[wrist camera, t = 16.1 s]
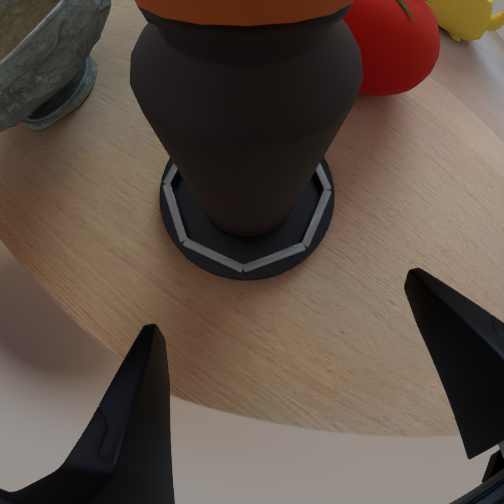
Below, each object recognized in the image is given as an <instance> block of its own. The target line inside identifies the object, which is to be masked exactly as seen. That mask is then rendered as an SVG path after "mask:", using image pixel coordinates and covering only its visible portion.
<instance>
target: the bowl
mask: <svg viewBox="0 0 504 504" xmlns="http://www.w3.org/2000/svg"><path fill="white" fill-rule="evenodd" d="M110 8H111V0H0V132H2V131H5V130H7V129H9V128H11V127H14V126H16V125H17V124H18V123H20V122H21V121H23V123H24V124H25V125H27V126H28V127H29V128H30V129H32V130H43V129H45V128H47V127H48V126H50V125H52V124H53V123H55V122H56V121H58V120H59V119H61V118H62V117H64V116H65V115H67V114H69V113H70V112H72V111H73V110H75V109H76V108H77V107H79V106H80V105H81V103H82V102H83V101H84V100H85V98H86V97H87V95H88V94H89V93H90V91H91V89H92V87H93V85H94V82H95V78H96V75H97V67H96V63H95V61H94V60H93V59H92V57H90V56H89V54H90V51H91V49H92V48H93V46H94V45H95V44H96V42H97V41H98V40H99V39H100V36H101V33H102V30H103V28H104V25H105V23H106V20H107V17H108V15H109V11H110Z"/></svg>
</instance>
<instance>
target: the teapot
mask: <svg viewBox="0 0 504 504" xmlns="http://www.w3.org/2000/svg"><path fill="white" fill-rule="evenodd" d="M428 1H429V2H431V3H429V2H427V1H426V3H427V4H428V5H429V7H430V8H431V10H432V11H433V13H434V15H435V17H436V20H437V24H438V25H439V26H440V27H442V28H444V29H445V30H447V31H448V33H449V35H450V36H451V37H452V38H453V39H455V40H457V41H460V40H461V38H462V39H464V40H466V41H473V40H478V39H480V38H481V36H482V35H483V34H484V32H485V31H486V30H488V31H494V30H497V29H499V28H501V27H502V26H503V25H504V11H502V12H500V13H499V14H495V15H492V14H491V12H492V6H493V1H492V0H428ZM432 3H433V4H432Z"/></svg>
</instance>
